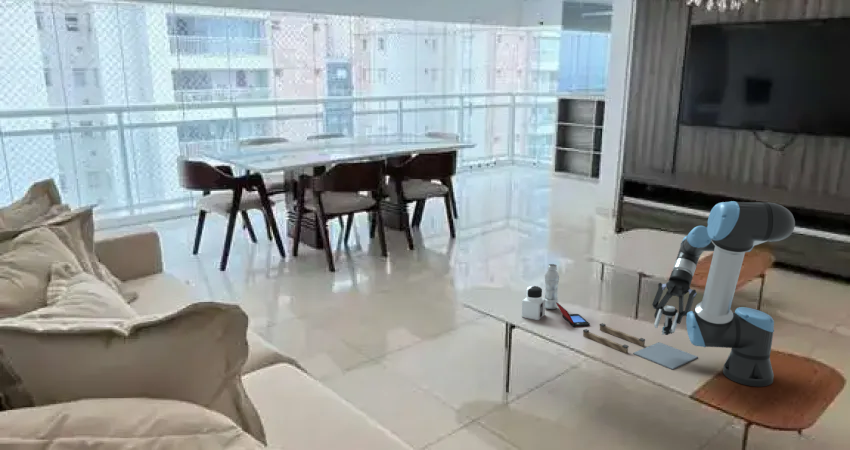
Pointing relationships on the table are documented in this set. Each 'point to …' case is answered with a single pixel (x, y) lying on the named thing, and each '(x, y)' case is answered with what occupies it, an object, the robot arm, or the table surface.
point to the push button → (668, 318)
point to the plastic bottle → (551, 287)
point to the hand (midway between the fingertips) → (664, 328)
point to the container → (533, 303)
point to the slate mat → (665, 355)
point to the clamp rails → (616, 333)
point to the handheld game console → (573, 318)
